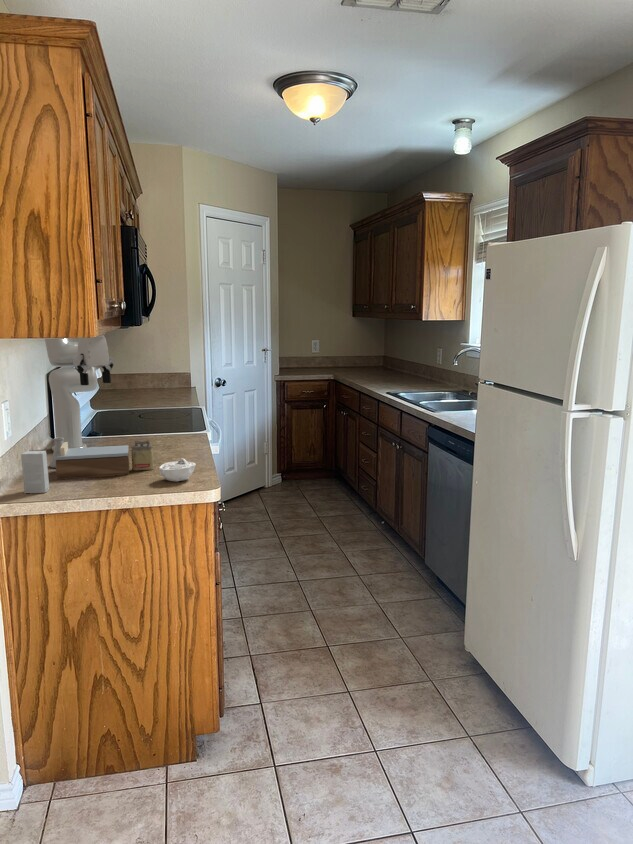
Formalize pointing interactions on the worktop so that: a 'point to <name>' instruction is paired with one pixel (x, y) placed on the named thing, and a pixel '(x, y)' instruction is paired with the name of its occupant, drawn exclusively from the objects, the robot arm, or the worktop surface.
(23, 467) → the skincare box
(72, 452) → the lid
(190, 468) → the cell model
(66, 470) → the wooden box
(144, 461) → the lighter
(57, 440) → the flask
